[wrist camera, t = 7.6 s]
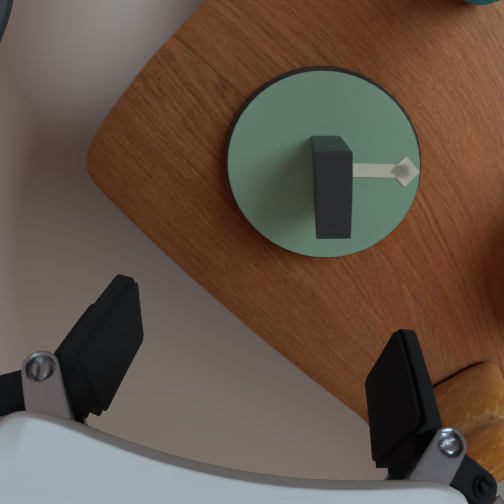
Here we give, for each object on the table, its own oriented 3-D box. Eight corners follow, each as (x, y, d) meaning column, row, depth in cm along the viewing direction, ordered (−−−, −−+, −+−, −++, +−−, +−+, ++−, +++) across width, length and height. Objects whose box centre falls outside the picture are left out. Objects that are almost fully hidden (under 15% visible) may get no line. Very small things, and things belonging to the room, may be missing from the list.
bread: (492, 348, 35) (529, 441, 20) (508, 407, 42) (528, 472, 27) (407, 396, 42) (421, 492, 27) (446, 440, 49) (457, 506, 34)
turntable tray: (219, 78, 24) (188, 75, 17) (417, 76, 21) (458, 75, 14) (240, 254, 32) (222, 302, 25) (408, 252, 29) (431, 300, 22)
